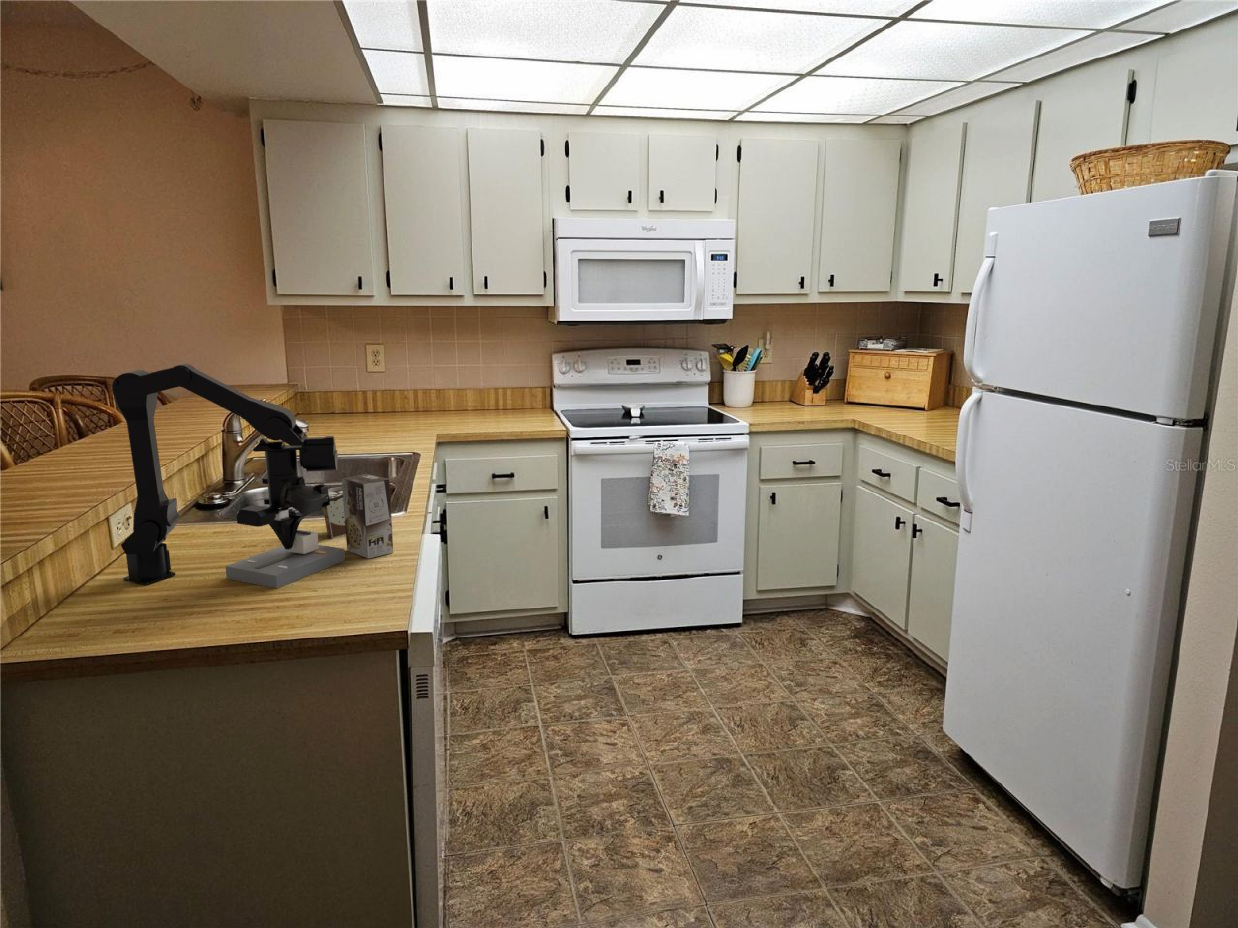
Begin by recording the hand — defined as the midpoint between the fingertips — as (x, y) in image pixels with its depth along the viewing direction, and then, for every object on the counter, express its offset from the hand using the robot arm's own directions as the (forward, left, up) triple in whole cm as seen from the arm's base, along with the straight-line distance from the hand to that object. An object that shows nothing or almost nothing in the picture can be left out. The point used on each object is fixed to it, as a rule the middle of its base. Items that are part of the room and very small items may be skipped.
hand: (288, 548), depth 161 cm
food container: (+25, +9, -4) cm, 27 cm away
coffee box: (+16, -7, -4) cm, 18 cm away
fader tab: (+3, 0, -1) cm, 4 cm away
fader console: (0, 0, -4) cm, 4 cm away
